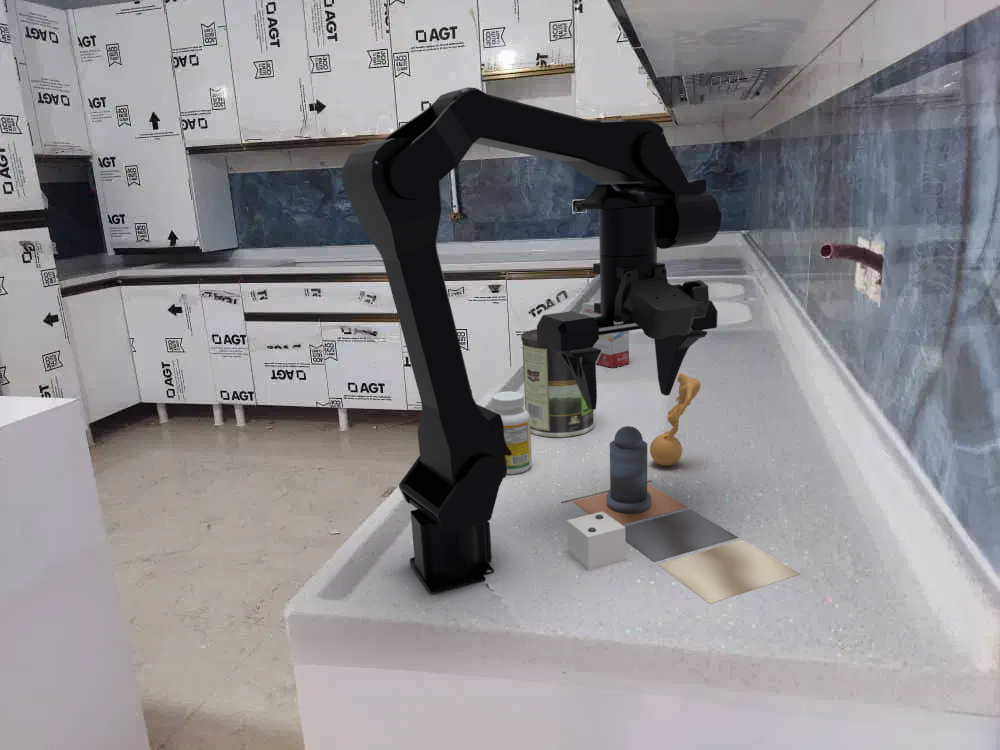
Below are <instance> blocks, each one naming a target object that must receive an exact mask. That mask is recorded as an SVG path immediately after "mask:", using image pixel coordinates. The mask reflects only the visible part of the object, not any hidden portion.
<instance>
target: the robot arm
mask: <svg viewBox="0 0 1000 750" xmlns="http://www.w3.org/2000/svg"><path fill="white" fill-rule="evenodd" d="M474 144H475V145H476V144H477V145H481V146H486V147H490V148H495V149H500V150H505V151H509V152H513V153H519V154H524V155H529V156H533V157H538V158H542V159H547V160H551V161H555V162H556V161H557V162H561V163H563V164H566V165H568V166H570V167H572V168H573V169H574V171H576V172H578V174H580V175H582V176H584V177H587V178H588V179H591V180H593V181H596V182H598V183H600V184H596V185H595V186H594V187H593V189H592V191H591V193H590V194H588V195H587V196H586V197H585V198H584V199H583V200H582V202H581V203H580V204H579V207H580V209H581V210H582V211H598V223H599V224H598V225H599V226H598V227H599V229H598V231H599V233H598V234H599V262H595V263H594V262H593V263H592V264H593V265H592V267H593V268H592V269H593V270H592V271H593V272H592V273H593V274H596V275H599V288H600V289H599V291H600V295H599V297H600V298H599V299H600V300H599V301H600V302H597V303H594V312H595V313H599V314H601V316H599V317H591V316H587V315H584V314H582V313H579V312H575V311H572V310H571V311H563V312H556V313H555V312H554V313H549V314H548V313H547V314H542V316H541V318H539V321H538V323H537V325H536V329H537V342H540V343H542V344H545V345H547V346H549V348H550V349H552V350H555V351H557V352H559V353H560V354H561V356H562V357H563V359H564V361H565V362H566V364H567V366H568V367H569V369H570V371H571V373H572V375H573V377H574V379H575V381H576V383H577V385H578V388H579V390H580V392H581V394H582V396H583V398H584V400H585V403H586V405H587V407H588V408H589V409H591V410H593V411H595V410H596V409H597V403H598V402H597V401H598V400H597V399H598V390H597V389H598V388H597V385H598V384H597V368H596V365H597V364H596V360H597V359H598V357H599V355H600V353H601V350H600V349H597V348H595V347H593V346H594V344H595V343H596V342H597V341H598V339H599V335H604V334H610V333H617V332H623V331H636V330H641V331H643V334H644V335H645V336H646V337H648V338H650V339H652V340H654V348H655V359H656V370H657V379H658V386H659V390H660V394H662V395H663V396H670V394H671V393H672V389H673V387H674V384H675V381H676V380H677V378H678V375H679V374H678V373H679V371H680V369H681V366H682V363H683V360H684V358H685V356H686V354H687V352H688V350H689V349H690V347H691V346H692V345H693V344H695V343H696V342H697V341H698V340H699V339H701V338H705V337H707V335H708V331H706V330H712V329H716V328H718V310H717V308H716V306H715V304H714V303H713V301H712V300H710V295H709V285H708V284H706V283H705V282H704V281H702V280H700V279H696V280H691V281H690V280H689V281H685V282H683V284H680V283H678V284H671V283H669V280H668V278H667V276H668V275H667V272H668V271H667V268H666V263H664V262H663V263H662V262H658V249H661V250H667V249H673V248H682V247H689V246H690V247H691V246H697V245H703V244H704V245H705V244H708V243H709V242H711V241H712V240H713V239H715V237H716V235H717V234H718V232H719V231H720V228H721V224H722V211H721V210H720V207H719V206H720V205H719V204H718V201H717V199H716V198H715V196H713V194H711V193H710V192H709V191H707V182H708V181H707V180H706V179H705V178H701V179H687V177H686V174H685V173H684V171H683V170H682V167H681V165H680V163H679V162H678V159H676V156H675V154H674V152H673V151H672V149H671V147H670V145H669V143H668V142H667V138H666V136H665V134H664V128H663V127H662V125H660V124H659V123H657V122H656V121H653V120H650V119H609V120H608V119H607V120H606V119H602V120H599V119H598V120H595V119H594V120H593V119H592V120H591V119H585V118H583V117H582V118H581V117H579V116H574V115H570V114H567V113H563V112H559V111H555V110H550V109H546V108H543V107H540V106H535V105H531V104H527V103H523V102H519V101H515V100H510V99H508V98H503V97H500V96H496V95H492V94H488V93H485V92H484V91H482V90H481V89H479V88H477V87H464V88H460V89H457V90H453V91H449V92H446V93H443V94H441V95H440V96H438V98H437V99H436V100H435V101H434V102H433V103H432V104H431V105H430V106H428V107H427V108H426V109H425V110H423V111H422V112H421V113H419V114H418V115H416V116H415V117H413V118H412V119H411V120H409V121H407V122H406V123H405V124H403V125H401V126H400V127H398V128H397V129H395V130H394V131H392V132H391V133H390V134H388V135H387V136H386V137H385V138H383V139H382V140H378V141H377V140H376V141H372V142H367V143H364V144H361V145H359V146H356V148H355V149H354V150H353V151H352V152H351V153H349V155H348V157H347V159H346V161H345V163H344V164H343V166H342V168H341V169H342V170H341V180H342V187H343V190H344V192H345V194H346V197H347V199H348V201H349V203H350V205H351V208H352V210H353V211H354V214H355V216H356V218H357V220H358V223H359V225H360V226H361V228H362V229H363V230H364V232H365V234H367V236H368V238H369V239H370V240H371V242H372V244H373V245H374V246H375V248H376V250H377V251H378V253H379V254H380V257H381V258H382V262H383V265H384V269H385V273H386V276H387V280H388V284H389V288H390V290H391V291H390V293H391V295H392V299H393V302H394V305H395V309H396V313H397V317H398V318H397V319H398V320H399V323H400V324H399V325H400V328H401V332H402V335H403V339H404V343H405V346H406V350H407V354H408V358H409V362H410V365H411V369H412V372H413V377H414V380H415V384H416V387H417V391H418V394H419V398H420V402H421V403H420V404H421V413H420V419H419V422H418V428H417V440H418V451H419V456H418V457H417V459H416V460H415V462H414V463H413V465H412V466H411V467H410V468H409V469H408V471H407V472H406V474H405V475H404V477H403V478H402V479H401V481H400V482H399V484H398V489H399V491H400V493H401V494H402V497H403V498H404V500H405V502H407V503H408V504H411V506H412V507H414V508H415V509H413V510H411V511H410V520H411V521H410V522H411V532H412V533H411V534H412V546H413V554H414V555H413V557H411V558H409V565H410V567H411V568H412V570H413V572H415V574H416V576H417V577H418V578H419V580H420V581H421V582H422V583H421V584H423V586H424V588H426V590H427V592H428V593H432V594H434V593H438V592H441V591H445V590H449V589H452V588H457V587H461V586H465V585H468V584H471V583H474V582H478V581H482V580H485V579H486V577H485V576H488V575H492V574H494V573H495V569H494V568H493V567H492V565H490V562H491V561H492V542H491V541H492V539H491V522H490V521H491V519H492V516H493V512H494V509H495V506H496V505H495V504H496V501H497V497H498V493H499V490H500V486H501V484H502V482H503V480H504V479H506V477H507V475H508V474H507V460H506V456H505V455H508V456H510V455H511V454H512V452H511V451H510V450H509V448H508V447H507V445H506V442H505V438H504V426H503V421H502V418H501V415H500V414H498V413H495V412H493V410H491V409H489V408H487V407H484V406H482V405H480V404H478V403H477V402H476V400H475V399H474V396H473V392H472V388H471V384H470V379H469V376H468V372H467V368H466V364H465V360H464V359H465V358H464V356H463V352H462V351H463V350H462V347H461V343H460V339H459V335H458V334H459V333H458V332H457V326H456V323H455V319H454V315H453V310H452V306H451V301H450V298H449V294H448V293H449V292H448V290H447V287H446V286H447V285H446V282H445V278H444V273H443V269H442V265H441V261H440V258H439V253H438V246H437V240H438V235H439V231H440V224H441V217H442V212H443V205H442V193H441V180H442V179H443V178H445V177H446V176H447V175H448V174H449V173H450V172H451V171H453V170H454V169H455V168H456V167H457V166H458V165H460V163H461V161H462V160H463V159H464V157H465V156H466V154H467V153H468V152H469V150H470V149H471V148H472V146H473V145H474ZM614 187H615V188H614ZM618 322H623V323H620V324H618ZM614 323H617V324H614Z"/></svg>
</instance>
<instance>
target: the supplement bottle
mask: <svg viewBox="0 0 1000 750" xmlns="http://www.w3.org/2000/svg"><path fill="white" fill-rule="evenodd" d="M491 399H492V400H491V403H492V405H491V406H492V407H493V410H492V411H493V412H495V413H498V414H500V415H501V418H502V421H503V426H504V438H505V442H506V445H507V447H508V448H509V450H510V451H511V452H512V454H511V455H510V456H508V455H505V456H506V460H507V475H517V474H521V473H524V472H527V471H528V470H529V469H531V467H532V463H533V461H532V460H533V459H532V437H531V435H532V433H531V430H530V415H529V413H528V412H527V411H526V410H525V408H524V407H525V394H523V393H522V392H518V391H501V392H497V393H494V394H492V396H491Z"/></svg>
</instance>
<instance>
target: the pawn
mask: <svg viewBox="0 0 1000 750" xmlns="http://www.w3.org/2000/svg"><path fill="white" fill-rule="evenodd" d="M647 481H648V443H647V442H646V441H644V440H643V435H642V433H641V431H640V430H639V429H637V428H636V427H634V426H631V425H630V426H629V425H626V426H622V427H621V428H619V429H618V430H617V431H616V433H615V435H614V439H613V440H612V441H611V442H610V443H609V487H610V488H609V490H610V491H609V492H607V506H608V508H609V509H611V510H612V511H615V512H618V513H623V514H637V513H642V512H645V511H647V510H649V509H650V507H651V495H650V493H649V492H647V484H648V483H647Z"/></svg>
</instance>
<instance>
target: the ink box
mask: <svg viewBox="0 0 1000 750" xmlns="http://www.w3.org/2000/svg"><path fill="white" fill-rule="evenodd" d="M597 302H600V300H599V301H598V300H597V301H589V302H583V303H582V304H581V314H584V315H587V316H591V317H599V316H601V314H599V313H595V312H594V303H597ZM620 323H623V322H618V324H620ZM614 324H617V323H614ZM629 343H630V336H629V331H623V332H617V333H610V334H604V335H599V339H598V341H597V342H596V343H595V344H594V346H593V347H595V348H597V349H600V350H601V353H600V355H599V357H598V359H597V360H596V365H598V364H599V365H598V366H602V367H607V368H611V369H613V368H618V367H622V366H626V365H629V364H630V344H629Z"/></svg>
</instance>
